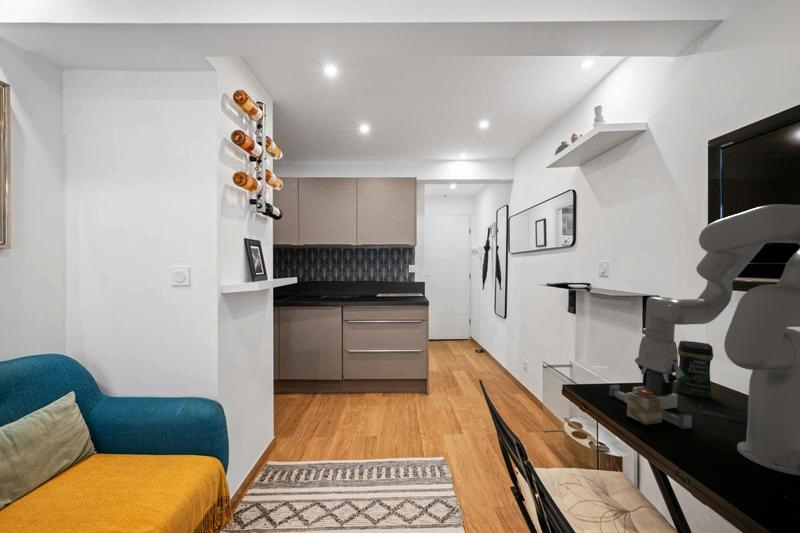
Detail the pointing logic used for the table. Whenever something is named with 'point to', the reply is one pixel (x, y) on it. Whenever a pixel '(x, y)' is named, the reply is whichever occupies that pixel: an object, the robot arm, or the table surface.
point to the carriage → (668, 400)
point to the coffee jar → (695, 368)
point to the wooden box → (644, 408)
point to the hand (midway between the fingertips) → (656, 389)
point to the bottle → (655, 382)
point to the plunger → (645, 393)
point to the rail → (681, 421)
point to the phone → (723, 413)
